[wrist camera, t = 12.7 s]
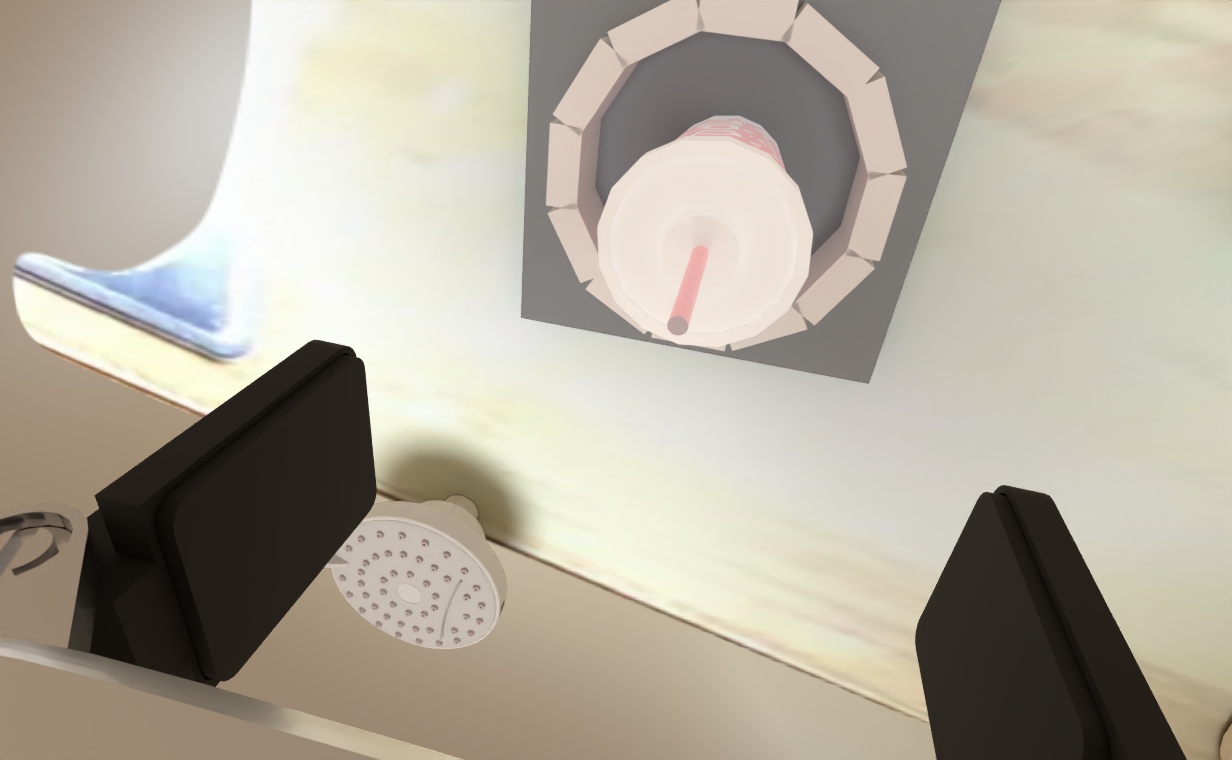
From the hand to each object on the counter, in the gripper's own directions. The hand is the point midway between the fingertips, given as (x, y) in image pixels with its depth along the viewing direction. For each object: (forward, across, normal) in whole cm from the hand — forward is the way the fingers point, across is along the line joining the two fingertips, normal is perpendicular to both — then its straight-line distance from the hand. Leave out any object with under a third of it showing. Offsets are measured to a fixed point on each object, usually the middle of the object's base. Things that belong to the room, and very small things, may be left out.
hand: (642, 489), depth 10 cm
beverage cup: (+20, 0, 0) cm, 20 cm away
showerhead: (+21, +13, +22) cm, 33 cm away
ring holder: (+21, +1, 0) cm, 21 cm away
